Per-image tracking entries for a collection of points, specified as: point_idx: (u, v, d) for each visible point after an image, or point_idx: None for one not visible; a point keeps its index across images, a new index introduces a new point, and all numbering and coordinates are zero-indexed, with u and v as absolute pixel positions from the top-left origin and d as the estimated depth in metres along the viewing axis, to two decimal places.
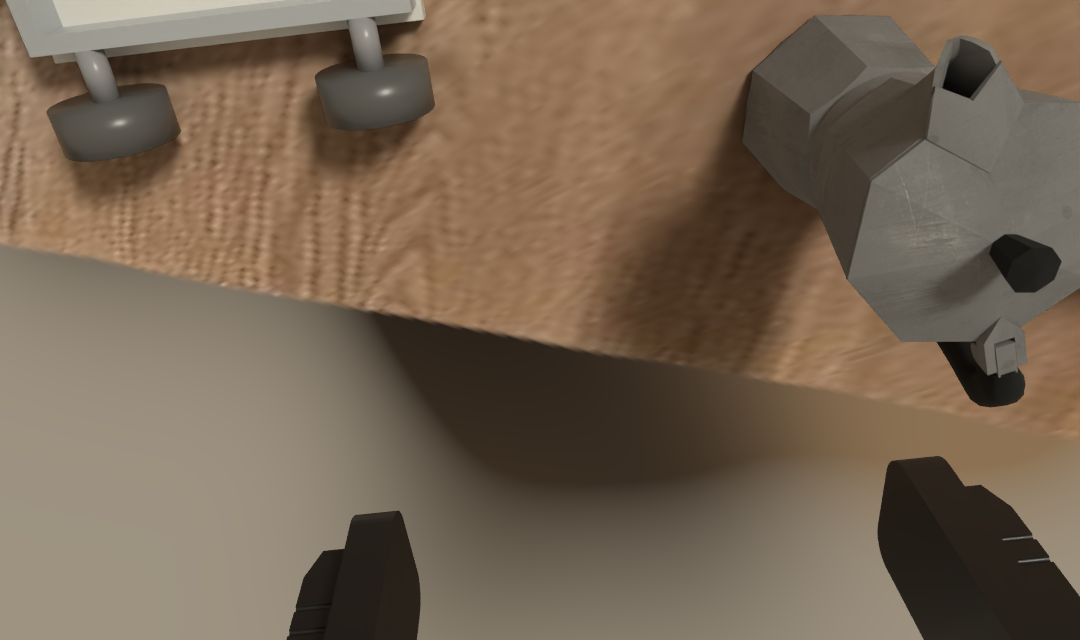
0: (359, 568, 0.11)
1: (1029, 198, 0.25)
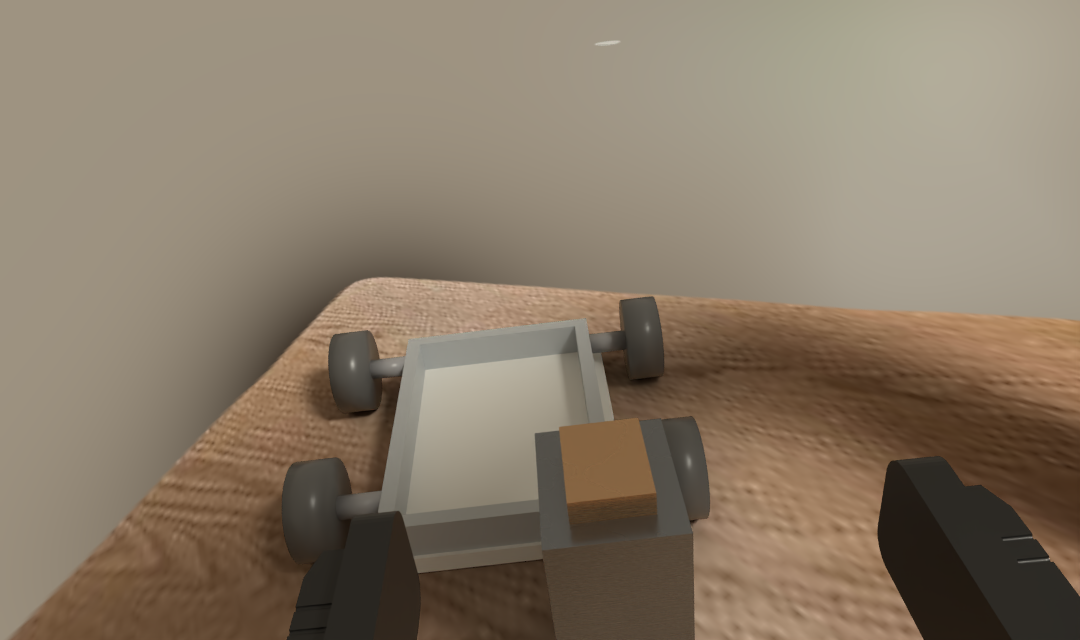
0: (359, 568, 0.11)
1: None
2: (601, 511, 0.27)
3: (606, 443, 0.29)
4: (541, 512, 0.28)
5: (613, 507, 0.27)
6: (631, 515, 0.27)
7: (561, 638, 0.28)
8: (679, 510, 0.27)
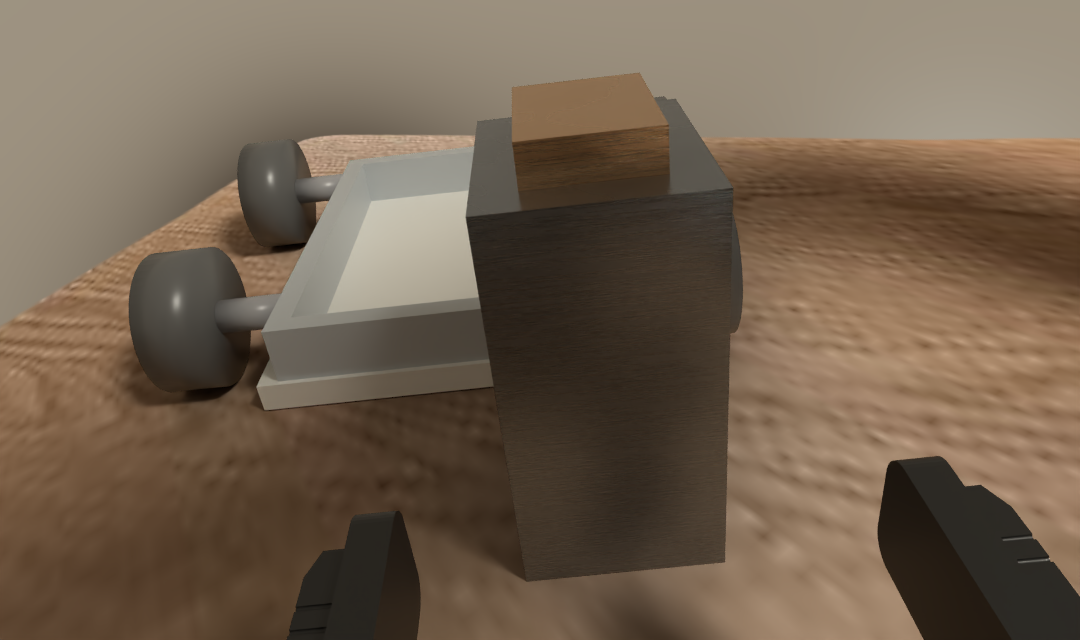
0: (359, 568, 0.11)
1: None
2: (572, 163, 0.15)
3: (586, 93, 0.17)
4: (473, 183, 0.16)
5: (593, 155, 0.15)
6: (625, 173, 0.15)
7: (507, 411, 0.17)
8: (708, 168, 0.16)
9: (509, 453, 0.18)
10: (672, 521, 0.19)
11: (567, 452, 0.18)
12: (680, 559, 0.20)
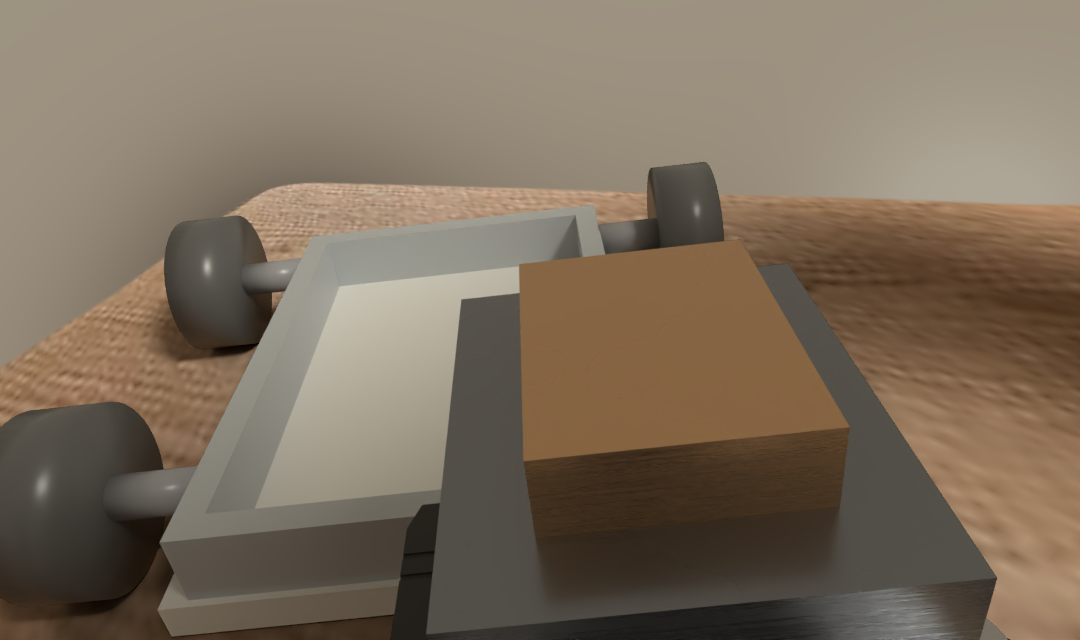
0: None
1: None
2: (647, 493, 0.08)
3: (655, 295, 0.10)
4: (447, 496, 0.08)
5: (690, 479, 0.07)
6: (751, 508, 0.08)
7: None
8: (915, 493, 0.08)
9: None
10: None
11: None
12: None
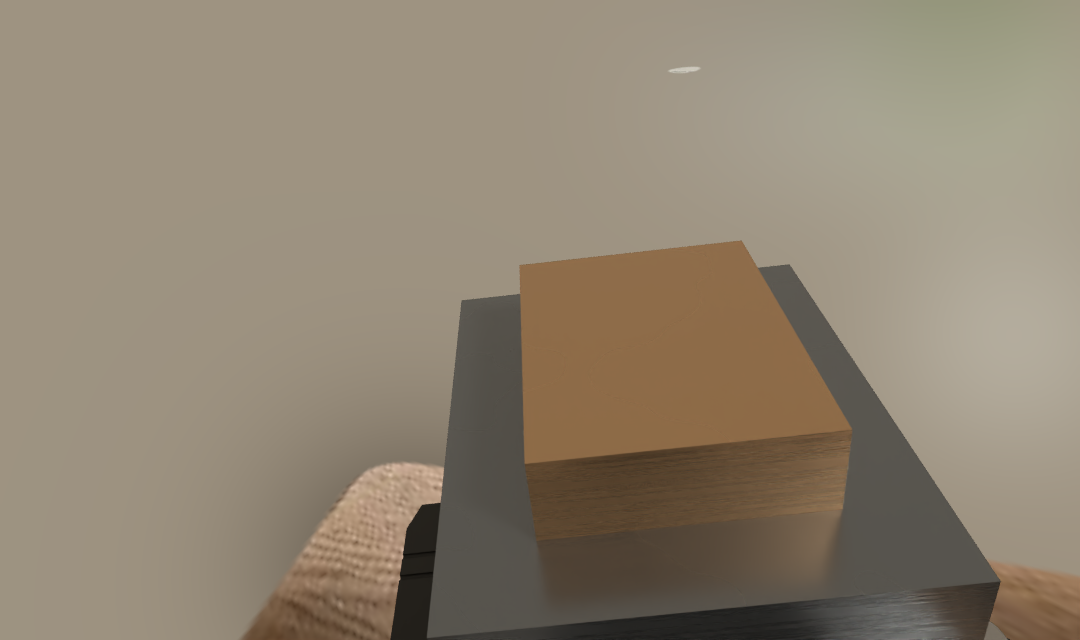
0: None
1: None
2: (649, 496, 0.08)
3: (656, 297, 0.10)
4: (448, 499, 0.08)
5: (692, 482, 0.07)
6: (753, 511, 0.08)
7: None
8: (918, 496, 0.08)
9: None
10: None
11: None
12: None
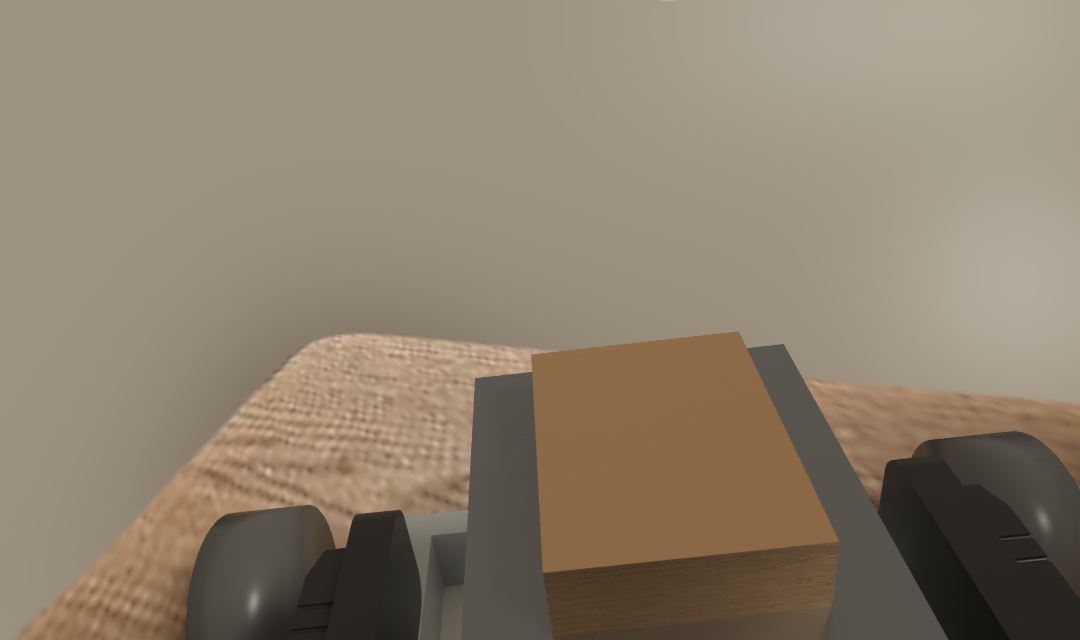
0: (360, 567, 0.12)
1: None
2: (655, 598, 0.08)
3: (660, 393, 0.10)
4: (469, 591, 0.09)
5: (694, 586, 0.08)
6: (750, 610, 0.08)
7: None
8: (900, 594, 0.09)
9: None
10: None
11: None
12: None
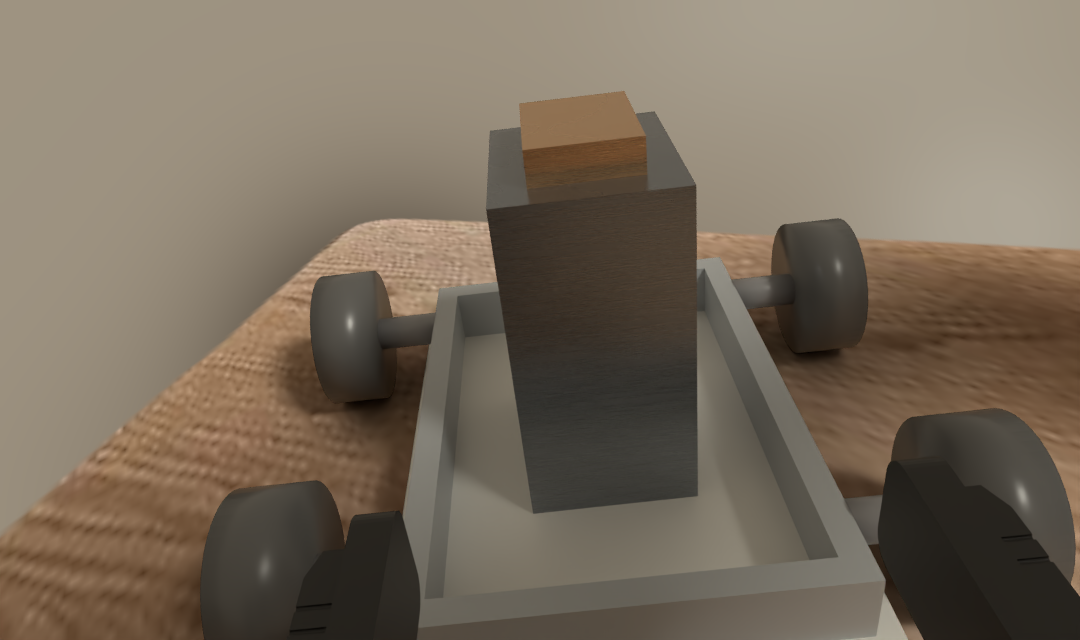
0: (359, 568, 0.11)
1: None
2: (570, 166, 0.19)
3: (580, 109, 0.21)
4: (490, 182, 0.20)
5: (587, 160, 0.19)
6: (611, 174, 0.19)
7: (518, 367, 0.21)
8: (677, 170, 0.20)
9: (519, 403, 0.22)
10: (653, 460, 0.23)
11: (566, 401, 0.22)
12: (661, 493, 0.24)
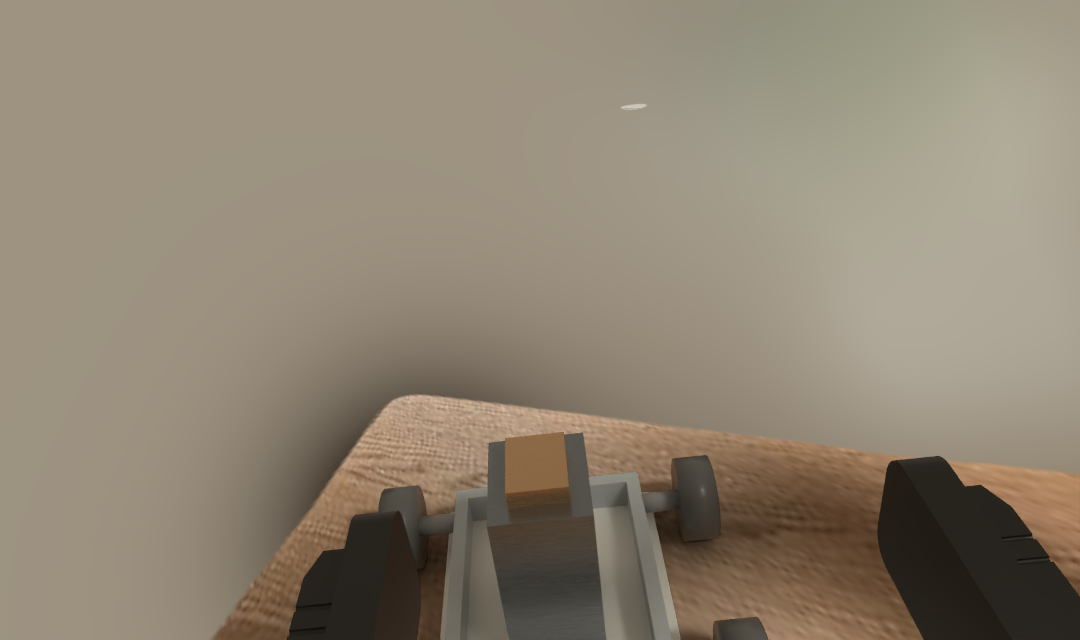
0: (359, 568, 0.11)
1: None
2: (530, 499, 0.37)
3: (538, 450, 0.39)
4: (488, 500, 0.38)
5: (538, 496, 0.37)
6: (552, 502, 0.37)
7: (503, 593, 0.39)
8: (586, 499, 0.37)
9: (504, 608, 0.40)
10: (580, 635, 0.41)
11: (530, 608, 0.40)
12: None
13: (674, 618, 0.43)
